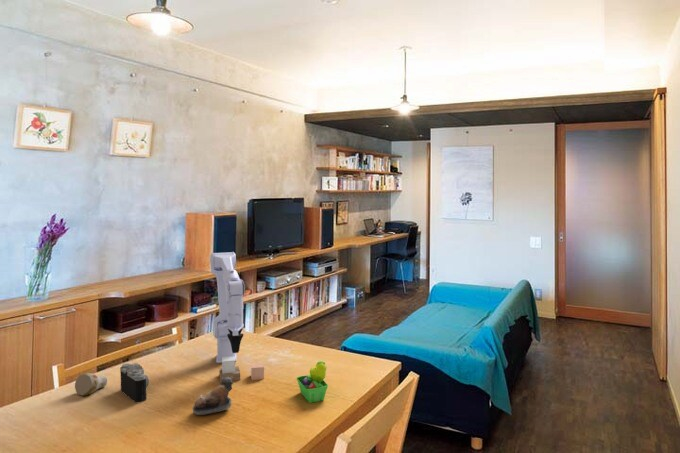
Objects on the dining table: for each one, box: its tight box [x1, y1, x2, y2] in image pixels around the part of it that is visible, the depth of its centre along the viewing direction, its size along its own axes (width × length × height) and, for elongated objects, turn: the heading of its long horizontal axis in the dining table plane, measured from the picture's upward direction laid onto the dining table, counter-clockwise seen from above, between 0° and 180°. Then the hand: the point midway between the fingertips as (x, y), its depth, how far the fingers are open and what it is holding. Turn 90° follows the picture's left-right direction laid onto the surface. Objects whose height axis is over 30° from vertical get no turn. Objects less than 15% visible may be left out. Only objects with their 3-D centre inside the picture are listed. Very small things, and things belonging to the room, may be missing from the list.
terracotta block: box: [250, 362, 265, 381], centre depth 163 cm, size 4×4×4 cm
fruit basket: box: [296, 360, 329, 404], centre depth 147 cm, size 11×9×11 cm
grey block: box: [221, 356, 236, 374], centre depth 162 cm, size 4×4×4 cm
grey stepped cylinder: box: [74, 372, 108, 396], centre depth 150 cm, size 8×10×10 cm
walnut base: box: [218, 365, 241, 383], centre depth 162 cm, size 7×7×3 cm
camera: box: [119, 362, 150, 403], centre depth 148 cm, size 15×7×10 cm, turn 47°
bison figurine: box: [192, 376, 234, 416], centre depth 136 cm, size 12×7×10 cm, turn 114°
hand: (235, 349), depth 164 cm, fingers open, 7 cm apart
